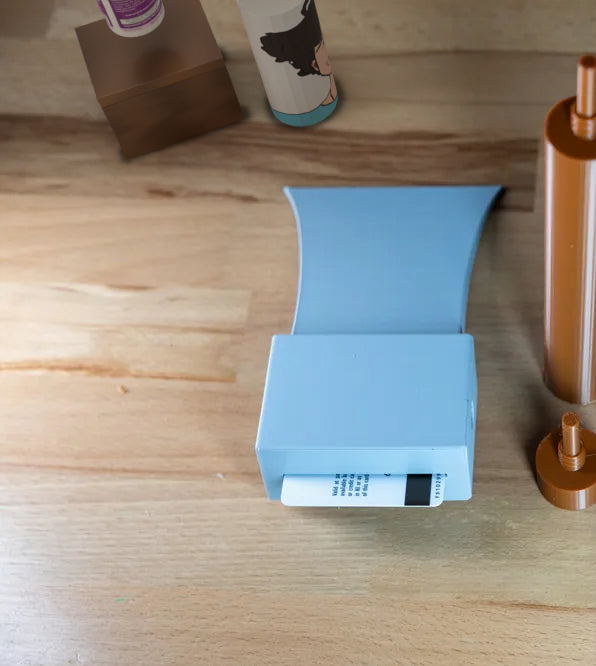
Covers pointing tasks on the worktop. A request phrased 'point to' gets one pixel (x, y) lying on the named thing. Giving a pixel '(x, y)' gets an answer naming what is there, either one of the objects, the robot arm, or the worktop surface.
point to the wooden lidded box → (160, 79)
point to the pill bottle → (132, 16)
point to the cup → (291, 58)
